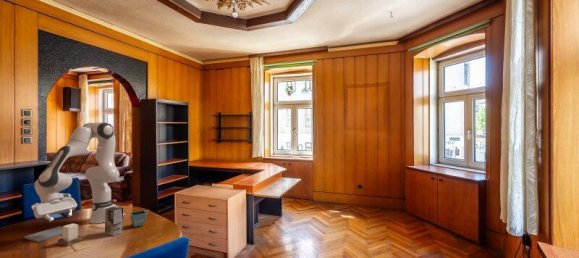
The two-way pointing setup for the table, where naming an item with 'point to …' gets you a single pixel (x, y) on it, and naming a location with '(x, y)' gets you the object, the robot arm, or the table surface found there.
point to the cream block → (70, 232)
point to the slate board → (45, 234)
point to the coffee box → (114, 220)
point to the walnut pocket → (70, 241)
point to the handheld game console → (60, 216)
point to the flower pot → (138, 218)
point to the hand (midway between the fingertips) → (61, 218)
